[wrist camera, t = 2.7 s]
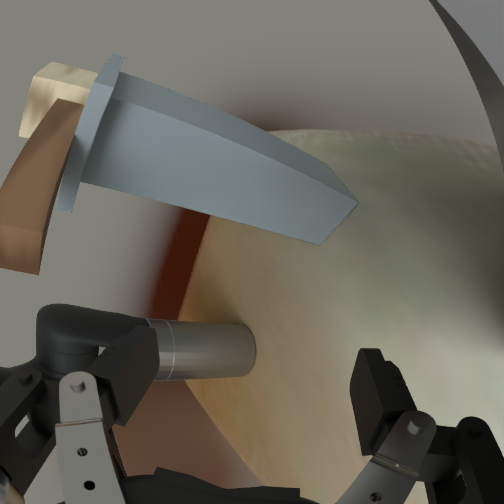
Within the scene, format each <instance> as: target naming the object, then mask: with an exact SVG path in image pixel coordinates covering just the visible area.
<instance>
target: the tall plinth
mask: <svg viewBox="0 0 504 504" xmlns="http://www.w3.org/2000/svg"><path fill="white" fill-rule="evenodd" d="M124 59H125V57H122V56H119V55H116V54H113V53H112V54H111V56H110V57H109V59H108V60H107V62H106V63H105V65H104V66H103V68H102V69H101V71H100V73H99V74H98V76H97V77H96V79H95V81H94V83H93V85H92V87H91V90H90V92H89V95H88V98H87V100H86V103H85V106H84V108H83V111H82V114H81V117H80V120H79V123H78V126H77V129H76V132H75V135H74V138H73V142H72V145H71V148H70V152H69V155H68V159H67V163H66V167H65V171H64V175H63V179H62V183H61V187H60V193H59V197H58V202H57V207H56V209H57V210H61V211H66V212H70V213H72V211H73V207H74V203H75V199H76V195H77V191H78V188H79V184H80V182H85V183H88V184H93V185H97V186H101V187H105V188H109V189H113V190H117V191H121V192H125V193H130V194H133V195H138V196H141V197H145V198H149V199H153V200H157V201H161V202H165V203H169V204H172V205H176V206H181V207H184V208H188V209H192V210H195V211H200V212H203V213H207V214H210V215H214V216H218V217H221V218H225V219H229V220H232V221H236V222H240V223H243V224H247V225H250V226H254V227H258V228H261V229H265V230H268V231H272V232H275V233H279V234H282V235H286V236H289V237H293V238H296V239H300V240H303V241H307V242H310V243H314V244H317V245H321V244H322V242H323V241H324V240H325V239H326V238H327V237H328V236H329V235H330V234H331V233H332V232H333V231H334V229H335V228H336V227H337V226H338V225H339V224H340V223H341V222H342V221H343V220H344V219H345V217H346V216H347V215H348V214H349V213H350V212H351V211H352V210H353V209H354V207H355V206H356V205H357V204H358V201H357V200H356V199H355V198H354V197H353V195H352V194H351V193H350V192H349V190H348V189H347V188H346V187H345V186H344V185H343V183H342V182H341V181H340V180H339V179H338V178H337V176H336V175H335V174H334V173H333V172H332V171H331V170H330V168H329V167H328V166H327V165H326V164H325V163H323V162H321V161H319V160H318V159H316V158H314V157H312V156H311V155H309V154H307V153H305V152H303V151H302V150H300V149H298V148H296V147H294V146H292V145H291V144H289V143H287V142H285V141H283V140H281V139H279V138H277V137H275V136H273V135H271V134H270V133H268V132H266V131H264V130H262V129H259V128H257V127H255V126H253V125H251V124H249V123H247V122H245V121H243V120H241V119H239V118H236V117H235V116H232V115H230V114H228V113H226V112H224V111H221V110H219V109H217V108H215V107H212V106H210V105H208V104H205V103H203V102H200V101H198V100H196V99H193V98H191V97H189V96H186V95H184V94H181V93H178V92H176V91H173V90H171V89H168V88H165V87H163V86H160V85H157V84H155V83H152V82H149V81H146V80H144V79H141V78H138V77H134V76H131V75H129V74H126V73H123V72H120V69H121V67H122V64H123V61H124Z"/></svg>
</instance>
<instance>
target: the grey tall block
mask: <svg viewBox="0 0 504 504" xmlns="http://www.w3.org/2000/svg"><path fill="white" fill-rule="evenodd" d="M429 1H430V2H431V4H432V6H433V7H434V9H435V10H436V12H437V13H438V15H439V16H440V18H441V20H442V21H443V22H444V25H445V26H446V27H447V30H448V31H449V33H450V35H451V37H452V38H453V40H454V42H455V44H456V46H457V47H458V49H459V51H460V53H461V55H462V57H463V59H464V61H465V63H466V65H467V68H468V70H469V71H470V74H471V76H472V78H473V81H474V83H475V85H476V87H477V90H478V92H479V95H480V97H481V100H482V102H483V105H484V108H485V110H486V113H487V116H488V119H489V122H490V125H491V128H492V131H493V134H494V137H495V140H496V144H497V147H498V151H499V155H500V158H501V162H502V166H503V171H504V0H429Z"/></svg>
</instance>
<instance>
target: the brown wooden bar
mask: <svg viewBox="0 0 504 504" xmlns="http://www.w3.org/2000/svg"><path fill="white" fill-rule="evenodd" d="M97 76H98V73H94V72H90V71H87V70H84V69H80V68H76V67H72V66H68V65H64V64H60V63H55V62H51V63H50V64H49V65H48V66H46V67H45V68H43V69H42V70H41V71H39V72H38V73H37V74H36V75H34V77H33V80H32V84H31V87H30V91H29V95H28V98H27V102H26V106H25V110H24V114H23V118H22V123H21V127H20V132H19V136H20V137H25V138H29V140H28V141H27V143H26V144H25V146H24V148H23V149H22V151H21V153H20V154H19V156H18V158H17V159H16V161H15V163H14V165H13V166H12V168H11V170H10V172H9V174H8V175H7V177H6V179H5V181H4V183H3V185H2V187H1V189H0V268H5V269H9V270H14V271H19V272H25V273H30V274H35V275H39V271H40V264H41V260H42V254H43V249H44V244H45V239H46V235H47V230H48V226H49V222H50V218H51V214H52V210H53V206H54V203H55V199H56V196H57V192H58V189H59V186H60V183H61V179H62V176H63V173H64V170H65V167H66V163H67V159H68V155H69V152H70V148H71V145H72V142H73V138H74V135H75V132H76V129H77V126H78V123H79V120H80V117H81V114H82V111H83V108H84V106H85V103H86V100H87V98H88V95H89V92H90V90H91V87H92V85H93V83H94V81H95V79H96V77H97Z"/></svg>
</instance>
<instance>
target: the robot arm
mask: <svg viewBox="0 0 504 504" xmlns="http://www.w3.org/2000/svg"><path fill="white" fill-rule="evenodd" d="M99 346H100V347H106V349H105V350H104V351H103V352H102V354H100V355H99V356H98V351H99ZM255 356H256V347H255V341H254V338H253V336H252V333H251V332H250V330H249V329H248V328H247V327H246V326H244V325H242V324H223V323H204V322H187V321H172V320H159V319H147V318H137V317H132V316H128V315H124V314H120V313H114V312H106V311H100V310H95V309H90V308H84V307H80V306H74V305H68V304H50V305H46V306H44V307H43V308H41V309H40V310H39V312H38V314H37V321H36V356H35V358H34V359H32V360H31V361H29V362H27V363H25V364H22V365H19V366H15V367H11V368H4V367H0V504H25V499H24V494H25V493H26V491H27V489H28V488H29V486H30V484H31V483H32V481H33V479H34V478H35V476H36V475H37V473H38V472H39V470H40V468H41V467H42V465H43V464H44V462H45V461H46V459H47V457H48V456H49V454H50V453H51V451H52V450H53V448H54V447H55V445H57V455H58V463H59V471H60V476H61V483H62V489H63V495H64V500H65V501H64V502H61V503H58V504H319V503H317V502H315V501H312V500H309V499H306V498H302V497H300V488H283V487H268V486H261V487H250V488H236V489H223V488H220V487H218V486H215V485H213V484H210V483H208V482H205V481H203V480H201V479H198V478H196V477H194V476H191V475H188V474H184V473H179V472H175V471H171V470H168V469H164V468H160V467H157V468H156V470H155V473H154V475H135V476H130V477H128V475H127V473H126V470H125V468H124V465H123V462H122V459H121V456H120V452H119V449H118V445H117V442H116V439H115V435H114V432H113V429H112V426H113V424H114V423H115V424H118V425H121V426H125V425H126V423H127V422H128V420H129V419H130V417H131V415H132V414H133V412H134V410H135V409H136V407H137V406H138V404H139V402H140V401H141V399H142V397H143V396H144V394H145V392H146V391H147V389H148V388H149V386H150V384H151V383H152V381H153V380H189V379H209V378H226V377H238V376H244V375H246V374H248V373H249V372H250V370H251V369H252V367H253V365H254V361H255ZM350 396H351V401H352V406H353V410H354V415H355V420H356V425H357V431H358V436H359V441H360V447H361V452H362V456H367V455H372V456H373V457H372V458H371V459H370V461H369V462H368V463H367V465H366V466H365V467H364V469H363V470H362V471H361V473H360V474H359V475H358V477H357V478H356V479H355V481H354V482H353V483H352V484H351V486H350V487H349V488H348V489H347V490H346V492H345V493H344V494H343V495H342V496H341V498H340V499H339V500H338V501H337V502H336V503H335V504H404V502H405V500H406V499H407V497H408V495H409V493H410V492H411V490H412V488H413V486H414V484H415V482H416V481H422V482H424V483H425V488H426V493H427V497H428V503H429V504H504V457H503V455H502V453H501V450H500V448H499V446H498V444H497V442H496V440H495V438H494V436H493V434H492V432H491V430H490V428H489V426H488V424H487V423H486V422H485V421H483V420H482V419H480V418H477V417H465V418H463V419H462V420H461V421H460V422H459V424H458V425H457V427H447V426H439V425H436V422H435V420H434V419H433V418H432V417H431V416H430V415H429V414H427V413H425V412H422V411H418V410H417V408H416V406H415V403H414V401H413V399H412V396H411V394H410V392H409V390H408V387H407V386H406V383H405V381H404V379H403V376H402V374H401V372H400V370H399V368H398V367H397V366H396V365H394V364H393V363H392V362H391V361H385V360H384V357H383V355H382V353H381V351H380V349H379V348H361V349H360V350H359V352H358V356H357V359H356V363H355V366H354V370H353V373H352V377H351V381H350ZM25 415H27V417H28V419H29V422H28V423H27V424H26V426H25V427H24V428H23V429H22V431H21V432H20V433H19V434H18V436H17V437H16V438H15V429H16V427H17V425H18V424H19V423H20V421H21V420H22V419H23V418H24V417H25ZM462 475H463V476H462ZM463 478H464V479H463ZM464 481H465V482H464ZM465 485H466V486H465Z"/></svg>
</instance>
